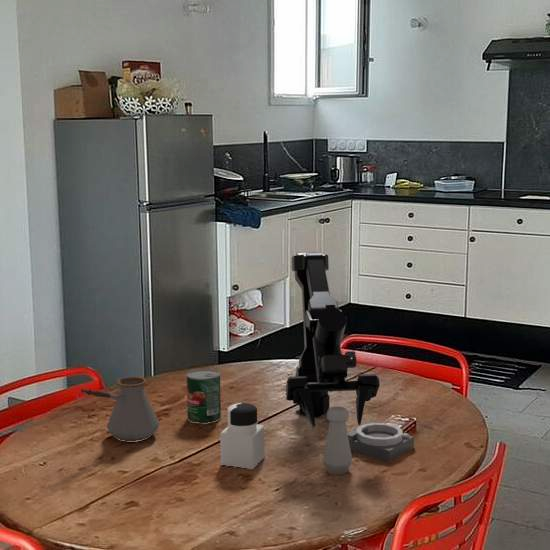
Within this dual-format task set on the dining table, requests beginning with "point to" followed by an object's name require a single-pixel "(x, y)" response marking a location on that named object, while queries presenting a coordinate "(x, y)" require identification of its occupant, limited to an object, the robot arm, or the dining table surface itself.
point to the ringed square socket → (380, 441)
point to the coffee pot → (130, 410)
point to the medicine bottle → (242, 438)
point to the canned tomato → (203, 395)
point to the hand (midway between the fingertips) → (336, 425)
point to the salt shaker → (337, 442)
